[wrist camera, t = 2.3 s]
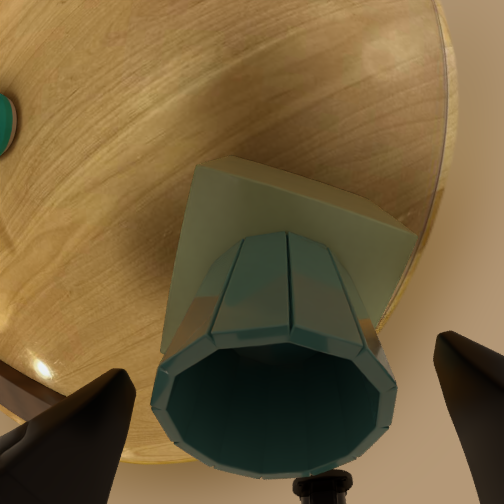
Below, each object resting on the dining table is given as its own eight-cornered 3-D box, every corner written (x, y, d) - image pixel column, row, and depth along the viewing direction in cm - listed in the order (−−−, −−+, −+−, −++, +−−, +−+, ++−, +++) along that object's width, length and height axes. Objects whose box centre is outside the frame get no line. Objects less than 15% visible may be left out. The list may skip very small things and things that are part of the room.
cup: (354, 352, 12) (382, 465, 6) (223, 367, 12) (195, 478, 7) (346, 221, 10) (406, 304, 5) (188, 245, 11) (113, 337, 5)
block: (76, 401, 25) (67, 413, 23) (88, 440, 28) (82, 451, 26) (-19, 347, 26) (-28, 355, 24) (-2, 389, 28) (-9, 398, 26)
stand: (320, 318, 19) (334, 398, 13) (197, 283, 19) (159, 353, 12) (368, 199, 16) (419, 236, 10) (229, 154, 16) (195, 164, 10)
